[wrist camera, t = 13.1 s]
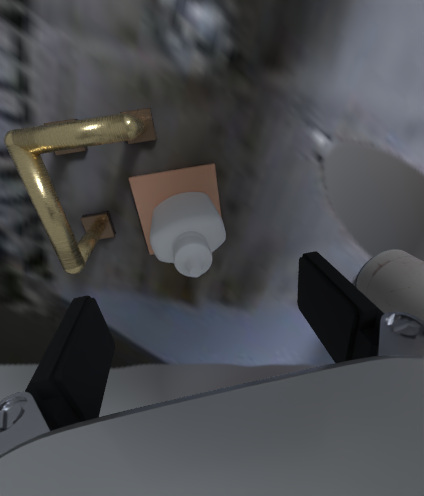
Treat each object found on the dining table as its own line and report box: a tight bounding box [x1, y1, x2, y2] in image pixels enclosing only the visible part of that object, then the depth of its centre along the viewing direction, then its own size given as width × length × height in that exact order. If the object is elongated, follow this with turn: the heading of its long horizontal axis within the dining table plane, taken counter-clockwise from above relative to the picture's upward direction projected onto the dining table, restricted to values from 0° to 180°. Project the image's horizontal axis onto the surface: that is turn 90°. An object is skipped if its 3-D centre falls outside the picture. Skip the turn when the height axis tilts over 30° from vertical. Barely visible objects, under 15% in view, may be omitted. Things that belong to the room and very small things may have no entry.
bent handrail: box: [4, 108, 157, 274], centre depth 20 cm, size 10×8×9 cm
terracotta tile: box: [129, 163, 221, 255], centre depth 25 cm, size 8×8×1 cm
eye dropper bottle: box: [150, 192, 226, 277], centre depth 20 cm, size 4×6×12 cm
